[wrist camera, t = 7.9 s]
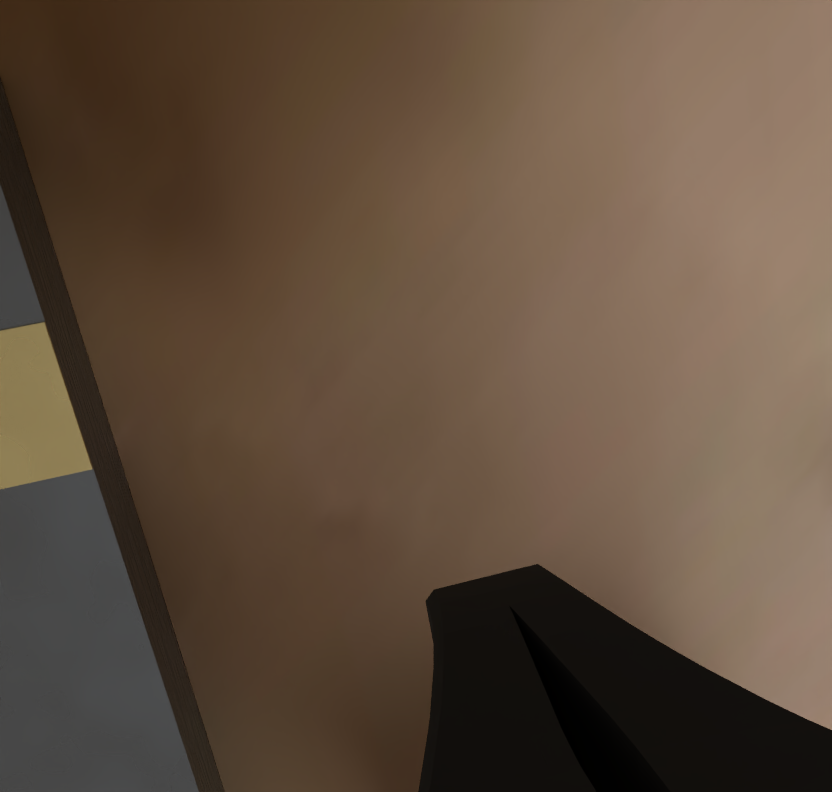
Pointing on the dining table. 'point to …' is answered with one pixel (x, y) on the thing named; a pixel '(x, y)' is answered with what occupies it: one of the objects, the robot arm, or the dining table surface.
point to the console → (74, 553)
